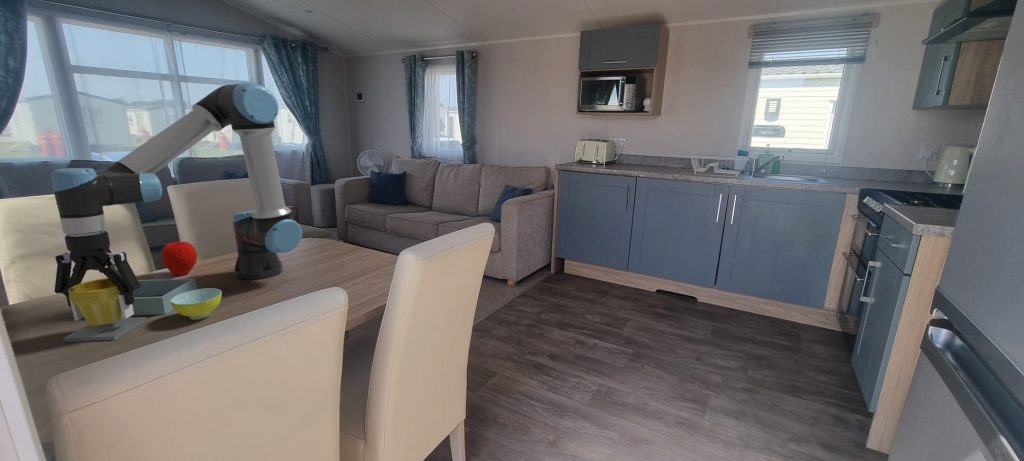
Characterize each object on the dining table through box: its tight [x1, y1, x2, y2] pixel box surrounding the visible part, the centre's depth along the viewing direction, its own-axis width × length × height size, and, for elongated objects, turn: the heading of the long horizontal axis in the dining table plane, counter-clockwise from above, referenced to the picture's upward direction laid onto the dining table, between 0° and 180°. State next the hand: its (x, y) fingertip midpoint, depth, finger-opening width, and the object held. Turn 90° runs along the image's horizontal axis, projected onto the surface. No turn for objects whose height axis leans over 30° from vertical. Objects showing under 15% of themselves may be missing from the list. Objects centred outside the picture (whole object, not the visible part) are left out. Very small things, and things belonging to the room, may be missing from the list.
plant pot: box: [68, 277, 123, 326], centre depth 106 cm, size 10×10×10 cm
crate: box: [132, 278, 198, 316], centre depth 123 cm, size 22×15×5 cm
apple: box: [161, 240, 198, 276], centre depth 148 cm, size 10×10×12 cm
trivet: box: [62, 316, 147, 343], centre depth 107 cm, size 11×11×1 cm
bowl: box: [171, 287, 223, 321], centre depth 116 cm, size 11×12×6 cm
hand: (105, 317), depth 107 cm, fingers closed on plant pot, 10 cm apart
